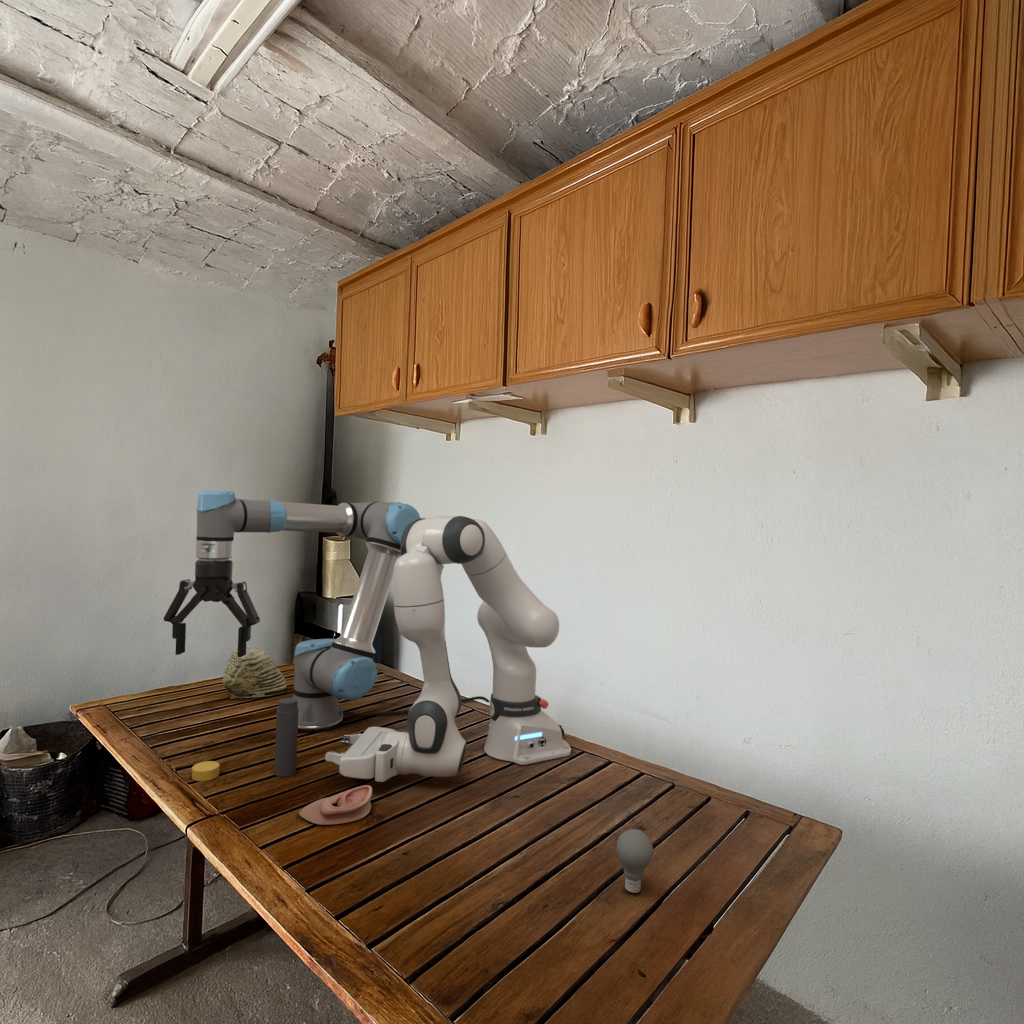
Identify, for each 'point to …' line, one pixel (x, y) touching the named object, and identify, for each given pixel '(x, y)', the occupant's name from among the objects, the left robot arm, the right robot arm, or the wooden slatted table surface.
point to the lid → (205, 771)
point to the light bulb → (634, 857)
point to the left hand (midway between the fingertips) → (211, 654)
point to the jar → (286, 737)
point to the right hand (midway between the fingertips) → (334, 747)
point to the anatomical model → (339, 807)
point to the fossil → (253, 675)
